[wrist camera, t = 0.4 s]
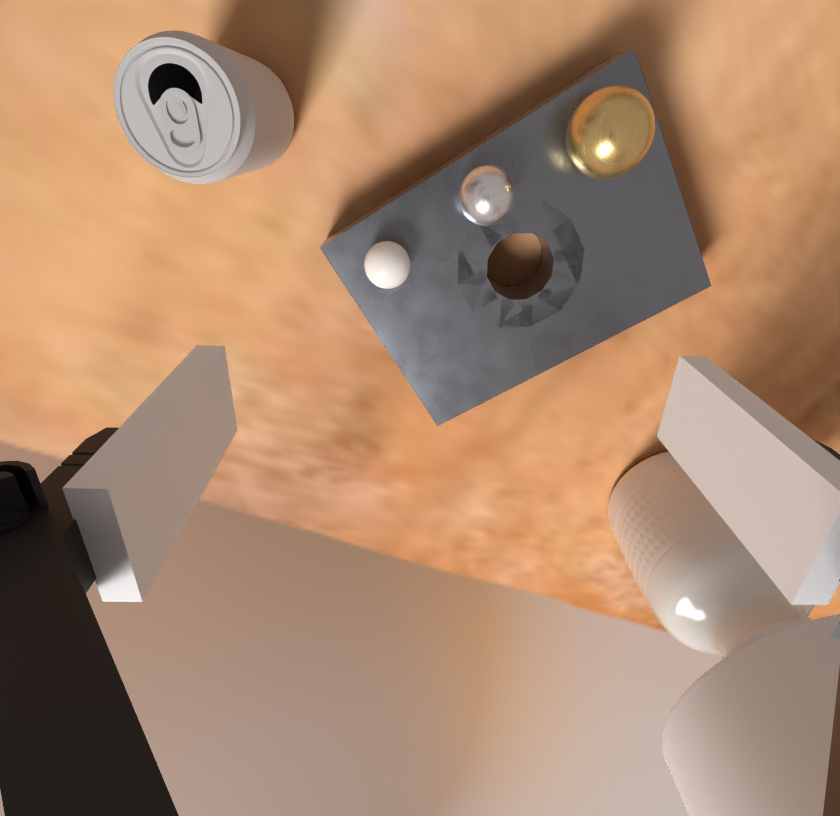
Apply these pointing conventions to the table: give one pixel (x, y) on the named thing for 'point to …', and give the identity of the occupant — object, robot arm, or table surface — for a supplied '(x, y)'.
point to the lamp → (730, 654)
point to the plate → (560, 263)
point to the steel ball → (487, 195)
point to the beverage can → (201, 108)
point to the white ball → (387, 264)
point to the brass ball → (610, 132)
